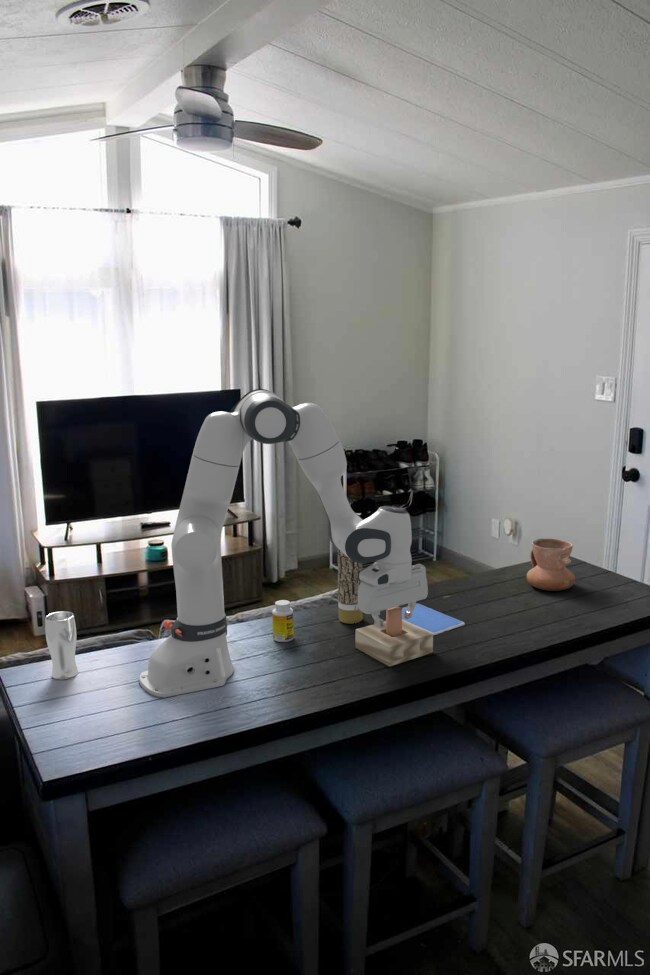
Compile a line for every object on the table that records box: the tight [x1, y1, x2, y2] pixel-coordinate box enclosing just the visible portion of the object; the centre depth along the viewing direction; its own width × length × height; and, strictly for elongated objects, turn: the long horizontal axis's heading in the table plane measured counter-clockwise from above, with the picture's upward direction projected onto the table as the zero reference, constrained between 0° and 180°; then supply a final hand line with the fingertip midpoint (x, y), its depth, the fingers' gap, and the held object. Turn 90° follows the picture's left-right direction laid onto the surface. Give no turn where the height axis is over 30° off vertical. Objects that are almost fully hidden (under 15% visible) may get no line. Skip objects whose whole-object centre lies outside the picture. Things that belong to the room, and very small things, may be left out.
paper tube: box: [337, 549, 364, 625], centre depth 221 cm, size 7×7×25 cm
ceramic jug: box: [526, 537, 576, 592], centre depth 247 cm, size 18×14×14 cm
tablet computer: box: [401, 603, 466, 636], centre depth 223 cm, size 19×13×1 cm, turn 37°
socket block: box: [354, 619, 434, 667], centre depth 203 cm, size 14×14×5 cm
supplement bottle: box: [271, 599, 295, 643], centre depth 211 cm, size 6×6×10 cm
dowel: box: [385, 606, 403, 637], centre depth 202 cm, size 4×4×10 cm
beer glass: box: [44, 610, 79, 681], centre depth 192 cm, size 7×7×15 cm
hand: (393, 622), depth 202 cm, fingers open, 8 cm apart
